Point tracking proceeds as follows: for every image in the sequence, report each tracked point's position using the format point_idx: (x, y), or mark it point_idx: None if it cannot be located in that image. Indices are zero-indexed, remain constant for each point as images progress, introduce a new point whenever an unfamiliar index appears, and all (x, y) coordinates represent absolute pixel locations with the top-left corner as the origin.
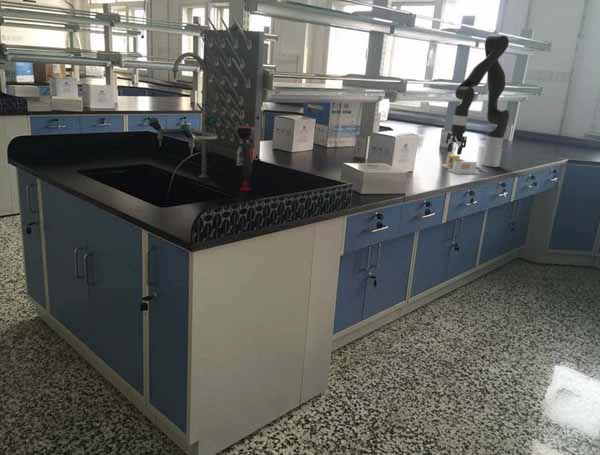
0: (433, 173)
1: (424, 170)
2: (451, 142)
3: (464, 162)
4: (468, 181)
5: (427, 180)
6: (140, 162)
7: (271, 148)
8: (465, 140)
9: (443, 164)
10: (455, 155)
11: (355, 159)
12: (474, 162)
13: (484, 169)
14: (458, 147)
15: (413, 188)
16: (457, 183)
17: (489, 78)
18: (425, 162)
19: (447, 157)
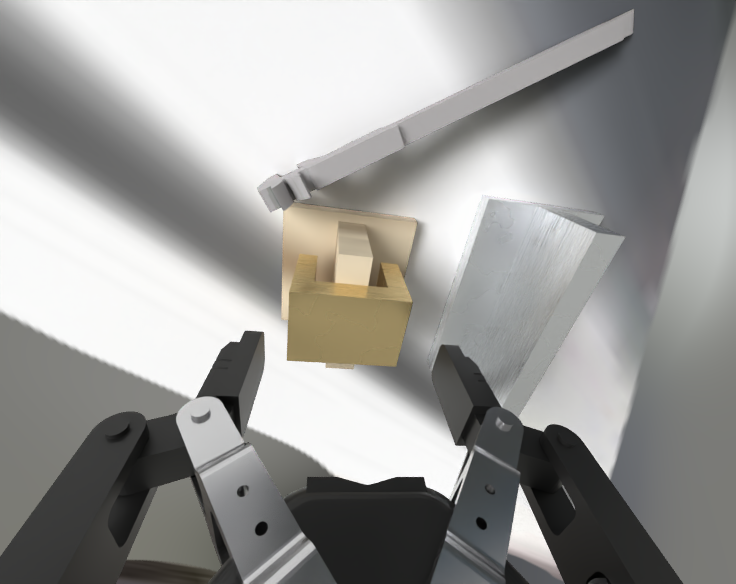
0: (445, 457)
1: (381, 461)
2: (189, 448)
3: (547, 360)
4: (628, 408)
5: (518, 516)
6: None
7: None
8: (657, 581)
9: (284, 307)
10: (371, 327)
11: (150, 578)
12: (604, 262)
13: (599, 27)
14: (469, 453)
15: (554, 565)
16: (609, 462)
17: None
18: (145, 345)
19: (329, 364)
